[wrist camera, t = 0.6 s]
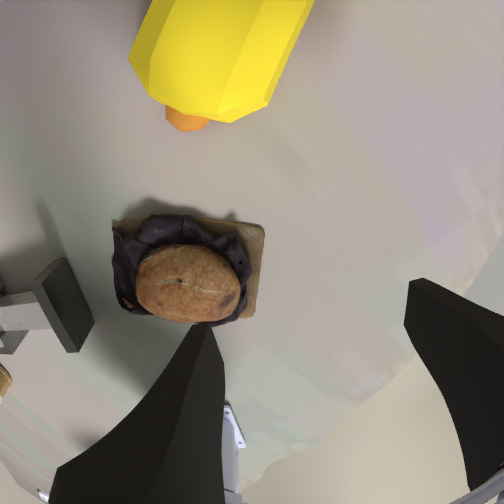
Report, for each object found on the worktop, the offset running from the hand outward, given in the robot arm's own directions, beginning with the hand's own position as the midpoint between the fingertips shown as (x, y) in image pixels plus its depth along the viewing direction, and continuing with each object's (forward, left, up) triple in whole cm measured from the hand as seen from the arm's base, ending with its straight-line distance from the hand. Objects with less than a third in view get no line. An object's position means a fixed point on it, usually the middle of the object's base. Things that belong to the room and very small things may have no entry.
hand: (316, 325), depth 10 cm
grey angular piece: (-2, +21, -10) cm, 23 cm away
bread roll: (-2, +7, -11) cm, 13 cm away
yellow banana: (+15, 0, -11) cm, 18 cm away
